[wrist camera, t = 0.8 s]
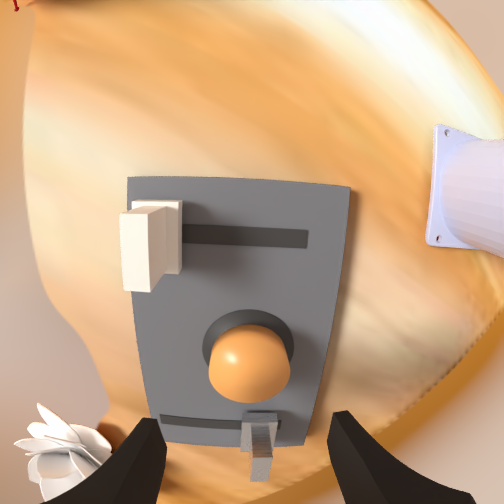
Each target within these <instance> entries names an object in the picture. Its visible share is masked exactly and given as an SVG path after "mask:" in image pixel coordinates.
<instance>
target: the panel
mask: <svg viewBox="0 0 504 504" xmlns="http://www.w3.org/2000/svg"><path fill="white" fill-rule="evenodd" d="M349 199H350V187H345V186H336V185H326V184H316V183H305V182H293V181H279V180H264V179H246V178H223V177H180V176H151V177H128V182H127V211H129V210H132V201H135V200H182V269H181V271H180V273H179V274H163V276H162V277H161V279H160V280H159V281H158V283H157V284H156V285H155V287H154V288H153V290H152V291H151V292H138V291H131V294H132V304H133V313H134V322H135V330H136V337H137V344H138V351H139V357H140V364H141V369H142V375H143V381H144V386H145V391H146V396H147V401H148V405H149V410H150V414H151V418H153V419H157V421H158V424H159V427H160V429H161V432H162V435H163V438H164V441H166V442H174V443H182V444H192V445H204V446H220V447H240V439H241V421H242V413H277V420H278V425H277V431H276V436H275V442H274V447H287V446H302V445H304V442H305V438H306V435H307V431H308V428H309V424H310V421H311V417H312V413H313V409H314V405H315V401H316V397H317V393H318V389H319V385H320V381H321V377H322V372H323V368H324V363H325V359H326V354H327V349H328V344H329V339H330V334H331V329H332V323H333V318H334V312H335V307H336V301H337V295H338V288H339V282H340V275H341V268H342V261H343V254H344V246H345V238H346V229H347V220H348V210H349ZM246 324H252V325H259V326H263V327H266V328H268V329H270V330H272V331H273V332H275V333H276V334H277V335H278V336H279V337H280V338H281V340H282V341H283V343H284V346H285V349H286V353H287V357H288V361H289V365H290V377H289V380H288V383H287V384H286V386H285V387H284V388H283V390H282V391H281V392H279V393H278V394H277V395H275V396H274V397H272V398H270V399H268V400H265V401H261V402H256V403H241V402H236V401H232V400H230V399H228V398H226V397H224V396H222V395H221V394H220V393H218V392H217V391H216V390H215V388H214V387H213V386H212V384H211V382H210V379H209V365H210V358H211V351H212V347H213V344H214V342H215V341H216V339H217V338H218V337H219V336H220V335H221V334H222V333H223V332H225V331H226V330H228V329H230V328H233V327H235V326H239V325H246Z"/></svg>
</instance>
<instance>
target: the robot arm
mask: <svg viewBox="0 0 504 504" xmlns="http://www.w3.org/2000/svg"><path fill="white" fill-rule="evenodd" d="M445 131H446V133H447V137H446V135H445ZM437 236H439V239H438V241H436V238H437ZM425 241H426V243H427V244H428V245H431V246H439V247H452V248H465V249H477V250H484V251H487V252H489V253H492V254H494V255H497V256H499V257H501V258H504V139H500V140H482V139H480V138H477V137H475V136H472V135H470V134H467V133H465V132H462V131H459V130H456V129H454V128H451V127H448V126H445V125H442V124H437V125H435V126H434V130H433V166H432V181H431V194H430V204H429V213H428V221H427V228H426V235H425ZM327 445H328V450H329V455H330V460H331V463H332V466H333V469H334V472H335V475H336V477H337V480H338V483H339V486H340V489H341V491H342V494H343V497H344V500H345V503H346V504H476V502H475V500H474V499H473V497H472V496H471V494H470V493H466V492H463V491H459V490H456V489H452V488H449V487H447V486H444V485H441V484H439V483H437V482H435V481H432V480H430V479H428V478H426V477H424V476H422V475H420V474H419V473H417V472H415V471H414V470H412V469H410V468H409V467H407V466H406V465H405V464H403V463H402V462H400V461H399V460H397V459H396V458H395V457H394V456H392V455H391V454H390V453H389V452H387V451H386V450H385V449H384V448H383V447H382V446H381V445H380V444H379V443H378V442H377V441H376V440H375V439H374V438H373V437H372V436H371V435H370V434H369V433H368V432H367V431H366V430H365V429H364V428H363V427H362V426H361V425H360V424H359V423H358V422H357V420H356V419H355V418H354V417H353V416H352V415H351V413H350V412H349V411H347V410H346V411H340V412H334V413H333V416H332V421H331V426H330V430H329V435H328V439H327ZM166 453H167V446H166V443H165V441H164V438H163V435H162V432H161V429H160V427H159V424H158V421H157V419H153V418H142V419H141V420H140V422H139V423H138V424H137V425H136V427H135V428H134V429H133V431H132V432H131V433H130V434H129V436H128V437H127V438H126V439H125V440H124V442H123V443H122V444H121V445H120V446H119V447H118V449H117V450H116V451H115V452H114V453H113V454H112V455H111V456H110V457H109V458H108V459H107V460H106V461H105V462H104V463H103V464H102V465H101V466H100V467H99V468H98V469H97V470H96V471H94V472H93V473H92V474H91V475H90V476H88V477H87V478H86V479H84V480H83V481H82V482H80V483H79V484H77V485H76V486H74V487H73V488H71V489H70V490H68V491H66V492H64V493H62V494H61V495H59V496H57V497H55V498H53V499H51V500H48V501H46V502H43V503H41V504H156V501H157V497H158V493H159V489H160V485H161V481H162V477H163V473H164V469H165V462H166Z"/></svg>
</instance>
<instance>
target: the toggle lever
mask: <svg viewBox="0 0 504 504" xmlns="http://www.w3.org/2000/svg"><path fill="white" fill-rule="evenodd" d="M120 243H121V261H122V275H123V286H124V290H126V291H138V292H151V291H152V290H153V288H154V287H155V285H156V284H157V283H158V281H159V280H160V279H161V277H162V276H163V274H179V273H180V271H181V269H182V200H135V201H132V210H129V211H126V212H123V213H120Z"/></svg>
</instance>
